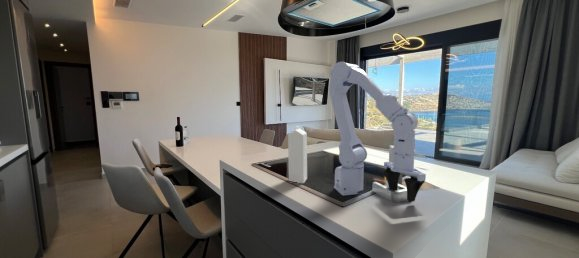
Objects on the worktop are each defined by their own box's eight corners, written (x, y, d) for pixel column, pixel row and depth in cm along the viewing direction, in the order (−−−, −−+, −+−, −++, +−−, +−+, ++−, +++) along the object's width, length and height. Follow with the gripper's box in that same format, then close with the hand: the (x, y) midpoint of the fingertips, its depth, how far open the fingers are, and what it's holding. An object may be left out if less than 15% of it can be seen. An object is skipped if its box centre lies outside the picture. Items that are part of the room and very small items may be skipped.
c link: (412, 200, 77) (412, 189, 76) (393, 204, 74) (394, 192, 74) (389, 189, 86) (389, 179, 86) (372, 192, 84) (372, 182, 83)
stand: (402, 194, 83) (403, 174, 82) (387, 185, 91) (387, 167, 90) (440, 190, 85) (441, 171, 85) (421, 182, 94) (422, 164, 93)
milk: (288, 182, 96) (287, 126, 94) (293, 177, 102) (292, 124, 99) (303, 183, 95) (302, 126, 92) (307, 178, 100) (306, 124, 97)
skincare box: (402, 177, 100) (403, 148, 99) (390, 176, 101) (391, 148, 100) (398, 172, 106) (399, 145, 105) (388, 172, 107) (389, 145, 105)
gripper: (376, 149, 80) (375, 190, 82) (412, 160, 66) (410, 208, 68) (394, 147, 82) (392, 187, 84) (432, 157, 69) (429, 204, 70)
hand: (401, 196), depth 76 cm, fingers open, 7 cm apart
